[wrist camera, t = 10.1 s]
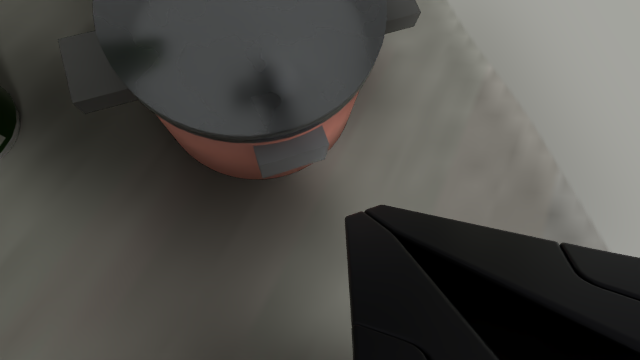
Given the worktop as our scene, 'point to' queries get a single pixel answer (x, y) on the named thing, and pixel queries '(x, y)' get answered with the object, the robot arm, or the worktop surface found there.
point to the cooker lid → (242, 60)
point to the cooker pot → (227, 158)
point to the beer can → (7, 122)
